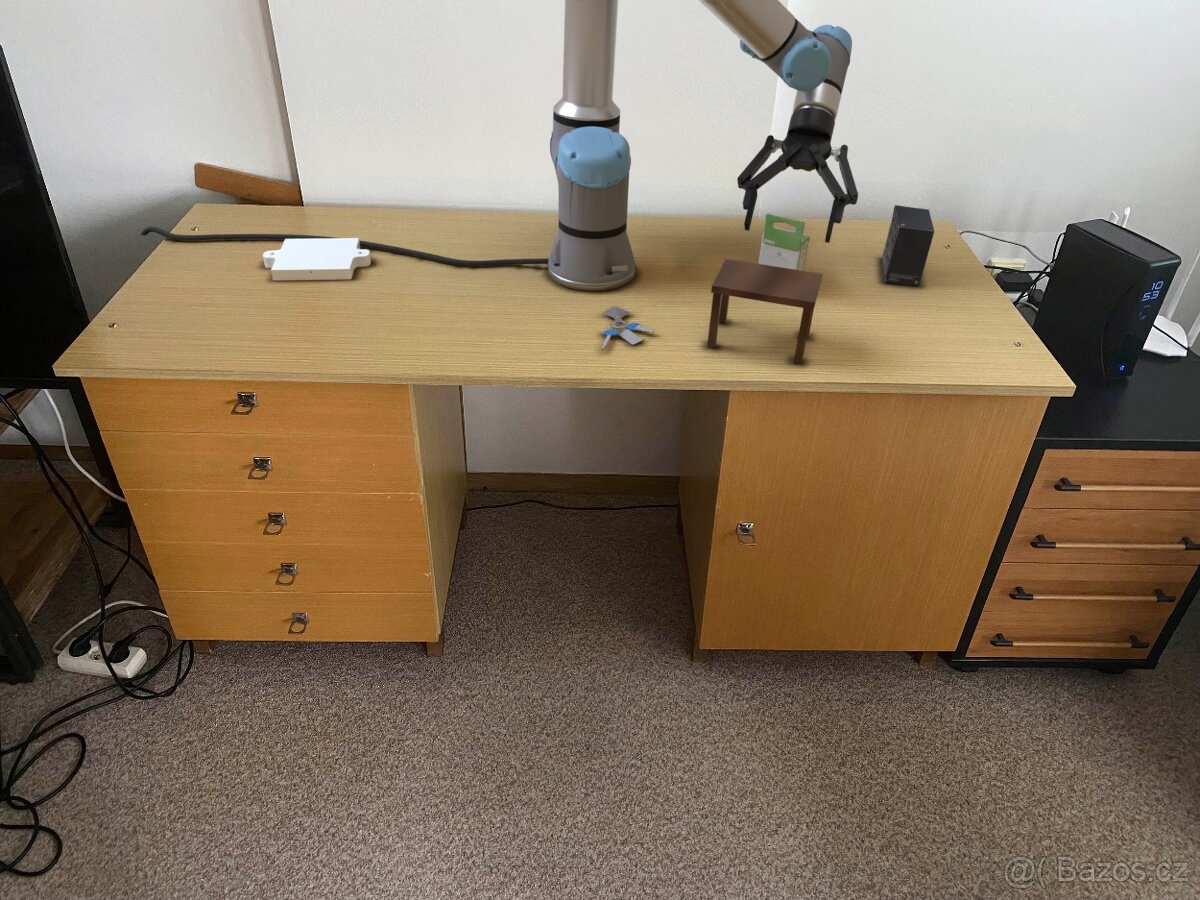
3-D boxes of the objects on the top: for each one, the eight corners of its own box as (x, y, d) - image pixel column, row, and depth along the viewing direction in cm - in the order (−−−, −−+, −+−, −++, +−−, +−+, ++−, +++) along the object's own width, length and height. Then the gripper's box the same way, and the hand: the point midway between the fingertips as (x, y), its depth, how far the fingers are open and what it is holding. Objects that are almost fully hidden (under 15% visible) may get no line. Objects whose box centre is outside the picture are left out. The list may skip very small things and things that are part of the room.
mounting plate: (257, 280, 149) (255, 270, 148) (273, 249, 159) (271, 238, 158) (366, 279, 150) (364, 268, 149) (374, 247, 161) (373, 237, 160)
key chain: (603, 308, 144) (603, 303, 143) (653, 310, 144) (654, 305, 143) (600, 351, 133) (600, 346, 132) (655, 353, 133) (655, 348, 132)
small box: (921, 287, 154) (936, 230, 148) (883, 283, 155) (896, 226, 148) (916, 262, 162) (930, 207, 156) (880, 258, 163) (893, 204, 157)
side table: (704, 347, 135) (711, 285, 128) (717, 318, 142) (725, 258, 136) (802, 365, 131) (815, 302, 125) (811, 334, 139) (822, 273, 133)
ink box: (800, 289, 152) (814, 215, 144) (791, 298, 149) (805, 222, 141) (763, 279, 155) (774, 205, 147) (754, 287, 152) (765, 212, 144)
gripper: (885, 138, 151) (860, 253, 149) (742, 120, 157) (715, 231, 154) (891, 114, 144) (864, 235, 141) (740, 96, 150) (712, 212, 147)
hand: (786, 233), depth 148 cm, fingers open, 13 cm apart
